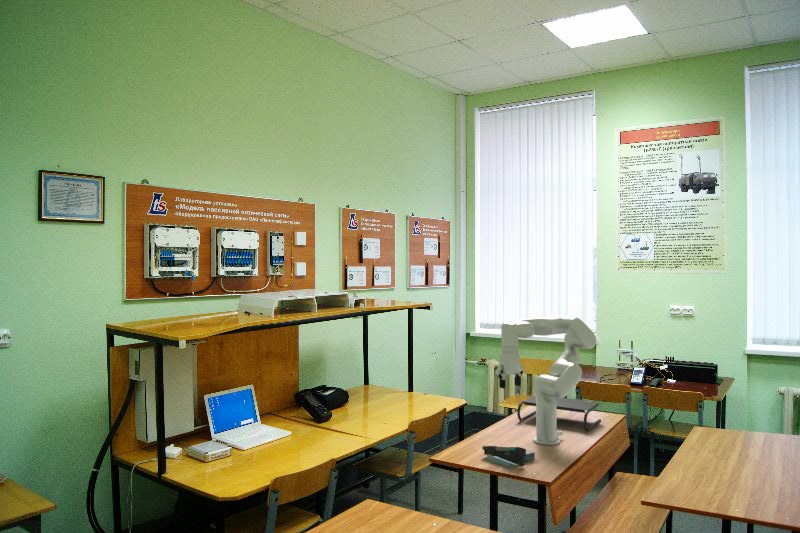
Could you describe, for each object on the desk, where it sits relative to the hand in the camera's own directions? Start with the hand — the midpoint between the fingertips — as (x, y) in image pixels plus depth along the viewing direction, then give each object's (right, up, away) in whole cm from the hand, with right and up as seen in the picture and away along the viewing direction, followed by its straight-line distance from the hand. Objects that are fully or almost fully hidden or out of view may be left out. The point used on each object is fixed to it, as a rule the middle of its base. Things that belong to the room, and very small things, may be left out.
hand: (510, 386), depth 263 cm
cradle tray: (-6, -28, -19) cm, 35 cm away
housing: (+2, -28, -14) cm, 32 cm away
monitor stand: (+35, -29, +46) cm, 65 cm away
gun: (-7, -27, -19) cm, 34 cm away
